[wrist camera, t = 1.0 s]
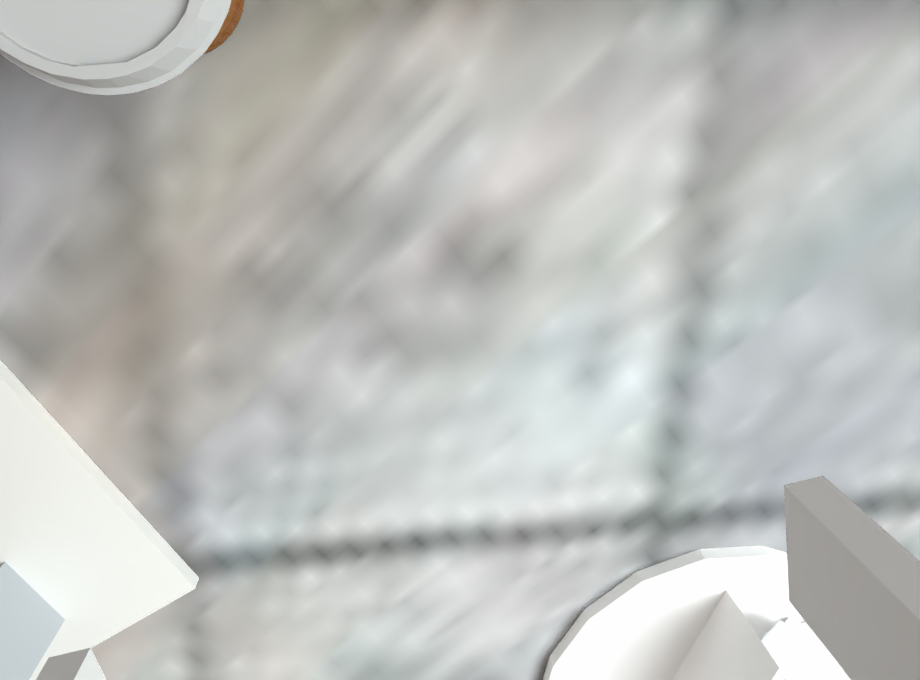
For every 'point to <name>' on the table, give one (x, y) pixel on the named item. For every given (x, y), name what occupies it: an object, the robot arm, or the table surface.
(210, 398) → the table surface
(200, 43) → the disposable coffee cup
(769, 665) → the dish
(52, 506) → the board
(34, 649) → the grey block
